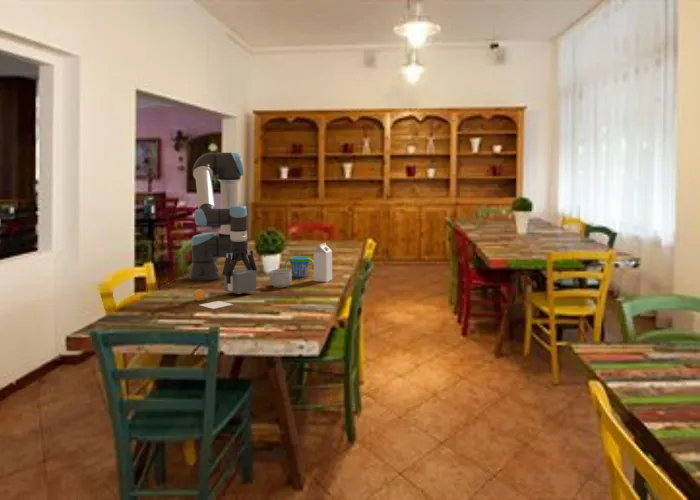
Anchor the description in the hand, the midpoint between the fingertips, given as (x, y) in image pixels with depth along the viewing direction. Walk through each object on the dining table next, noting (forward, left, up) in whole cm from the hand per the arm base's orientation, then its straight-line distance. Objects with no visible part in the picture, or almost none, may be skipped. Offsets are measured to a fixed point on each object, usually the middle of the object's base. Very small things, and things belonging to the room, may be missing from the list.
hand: (240, 288), depth 264 cm
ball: (-3, -20, 0) cm, 20 cm away
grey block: (0, 0, -1) cm, 1 cm away
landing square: (+9, -20, -3) cm, 23 cm away
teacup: (0, +25, -3) cm, 25 cm away
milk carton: (+6, +48, -3) cm, 48 cm away
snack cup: (-11, +48, -3) cm, 49 cm away
